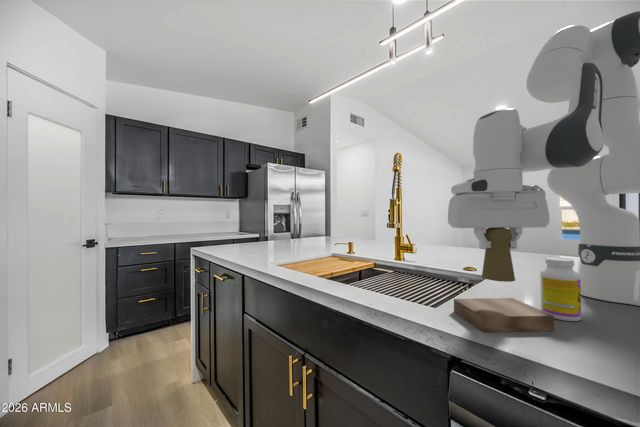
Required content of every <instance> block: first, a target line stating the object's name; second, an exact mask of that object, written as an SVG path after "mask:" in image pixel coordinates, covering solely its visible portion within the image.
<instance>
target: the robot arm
mask: <svg viewBox="0 0 640 427" xmlns="http://www.w3.org/2000/svg"><path fill="white" fill-rule="evenodd" d="M639 62H640V11H638V10H637V11H633V12H630V13H627V14H624V15H621V16H619V17H616V18H615V20H612V21H610V22H607V23H604V24H602V25H600V26H598V27H595V28H593V29H590V28H589V27H587V26H585V25H580V24H575V25H574V24H573V25H569V26H566V27H564V28H561V29H560V30H558V31H556V32H555V33H554V34H552V35H551V37H549V39H548V40H547V41H546V43H545V44H544V45H543V46H542V48H541V49H540V51H539V52H538V54H537V56H536V57H535V59H534V61H533V63H532V66H531V68H530V69H529V72H528V74H527V78H526V85H525V86H526V89H527V91H528V93H529V94H530V96H532V98H534V99H536V100H537V101H540V102H544V103H550V104H555V103H561V102H567V101H568V102H569V103H568V110H567V113H566V114H565V115H563V116H561V117H560V118H557V119H555V120H553V121H550V122H547V123H542V124H540V125H536V126H533V127H529V128H527V127H525V126H523V125H522V124H521V120H520V114H519V111H518V109H516V108H512V107H508V108H502V109H499V110H494V111H492V112H489V113H486V114H484V115H482V116H480V117H479V118H478V119H477V121H476V123H475V125H474V130H473V131H474V132H473V139H472V140H473V143H472V150H473V151H472V155H473V157H474V158H473V159H474V162H475V164H474V165H475V166H474V168H473V178H470V179H468V180H466V181H464V182H460V183H458V184H457V183H456V184H454V185H452V186H451V191H450V192H451V194H452V197H451V198H450V200H449V202H448V211H447V222H448V224H449V226H450V227H451V228H454V229H473V234H474V235H475V237H476V238H477V239H478V242H479V243H478V246H479V249H481V250H486V249H491V241H487V239H486V238H485V236H484V233H486V229H487V228H506V229H509V230H510V231H511V233H512V240H511V241H510V243H509V247H510V250H517V249H518V241H519V239H520V237H522V236H521V235H523V228H546V227H548V225H549V224H550V211H549V206H548V202H547V198H546V195H547V194H546V191H545V189H543V188H542V187H540V186H539V185H536V184H531V185H528V184H527V185H525V184H523V182H524V181H523V179H524V178H523V173H528V172H538V171H544V170H545V171H547V170H549V172H548V174H547V178H546V180H547V181H546V182H547V185H548V186H547V187H549V190H551V192H553V194H555V195H556V196H559V197H560V198H563V199H564V200H565V201H566V202H568V203H569V205H570V206H571V207H572V208H573V210H574V211H575V213H576V216H577V220H578V226H579V227H578V228H579V238H580V240H579V241H580V242H579V243H578V247H577V251H578V256H579V261H578V266H577V271H576V272H577V273H578V274H579V275H580V285H581V296H585V297H588V298H592V299H595V300H601V301H606V302H610V303H611V302H612V303H619V304H627V305H634V306H639V307H640V219H639V218H638V216H637V215H636V214H635V213H634V212H632V211H630V210H627V209H625V208H621V207H618V206H615V205H611V204H610V203H609V202H608V200H607V199H606V198H607V197H606V196H608V195H621V194H623V195H625V194H640V118H639V117H640V116H639V108H638V107H639V106H638V100H639V99H638V88H637V82H636V78H635V73H634V72H633V71H634V70H633V67H635V66H636V65H637V64H638V63H639ZM604 146H606V147H607V148H608V153H607V154H603V155H599V154H600V152H601V151H602V150H603V147H604Z"/></svg>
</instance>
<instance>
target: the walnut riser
mask: <svg viewBox="0 0 640 427" xmlns="http://www.w3.org/2000/svg"><path fill="white" fill-rule="evenodd" d="M453 312H454V313H455V314H457V315H458V316H459V317H461V318H463V319H464V320H466V321H467V322H468V323H469V324H471V325H472V326H474V327H475V328H476V329H478V330H480V331H481V333H482V332H483V333H509V332H510V333H512V332H514V333H516V332H517V333H518V332H519V333H521V332H554V331H555V319H554V316H553V315H551V314H549V313H546V312H544V311H542V310H541V309H539V308H536V307H534V306H532V305H529V304H527V303H525V302H522V301H521V300H517V299H515V298H513V297H500V298H499V297H498V298H497V297H496V298H493V297H492V298H491V297H490V298H483V297H482V298H453Z"/></svg>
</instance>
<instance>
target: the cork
mask: <svg viewBox="0 0 640 427" xmlns="http://www.w3.org/2000/svg"><path fill="white" fill-rule="evenodd" d="M483 234H484V236H485V238H486V239H487V241H491V249H484V250H485V252H484V257H483V265H482V274H481V278H482V279H485V280H488V281H495V282H505V283H507V282H509V283H510V282H515V281H516V276H515V271H514V265H513V259H512V254H511V249H510V247H509V243H510V241H511V240H512V232H511V231H510V230H509V228H486V233H483Z"/></svg>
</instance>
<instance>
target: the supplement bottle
mask: <svg viewBox="0 0 640 427" xmlns="http://www.w3.org/2000/svg"><path fill="white" fill-rule="evenodd" d="M545 264H546V268H543V269H542V270H541V271H540V310H542V311H544V312H546V313H549V314H551V315H553V316H554V320H559V321H566V322H578V321H581V320H582V295H581V285H580V275H579V274H578V273H577V271H575V270H574V266H575V261H574V259H570V258H564V257H546V258H545Z"/></svg>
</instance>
